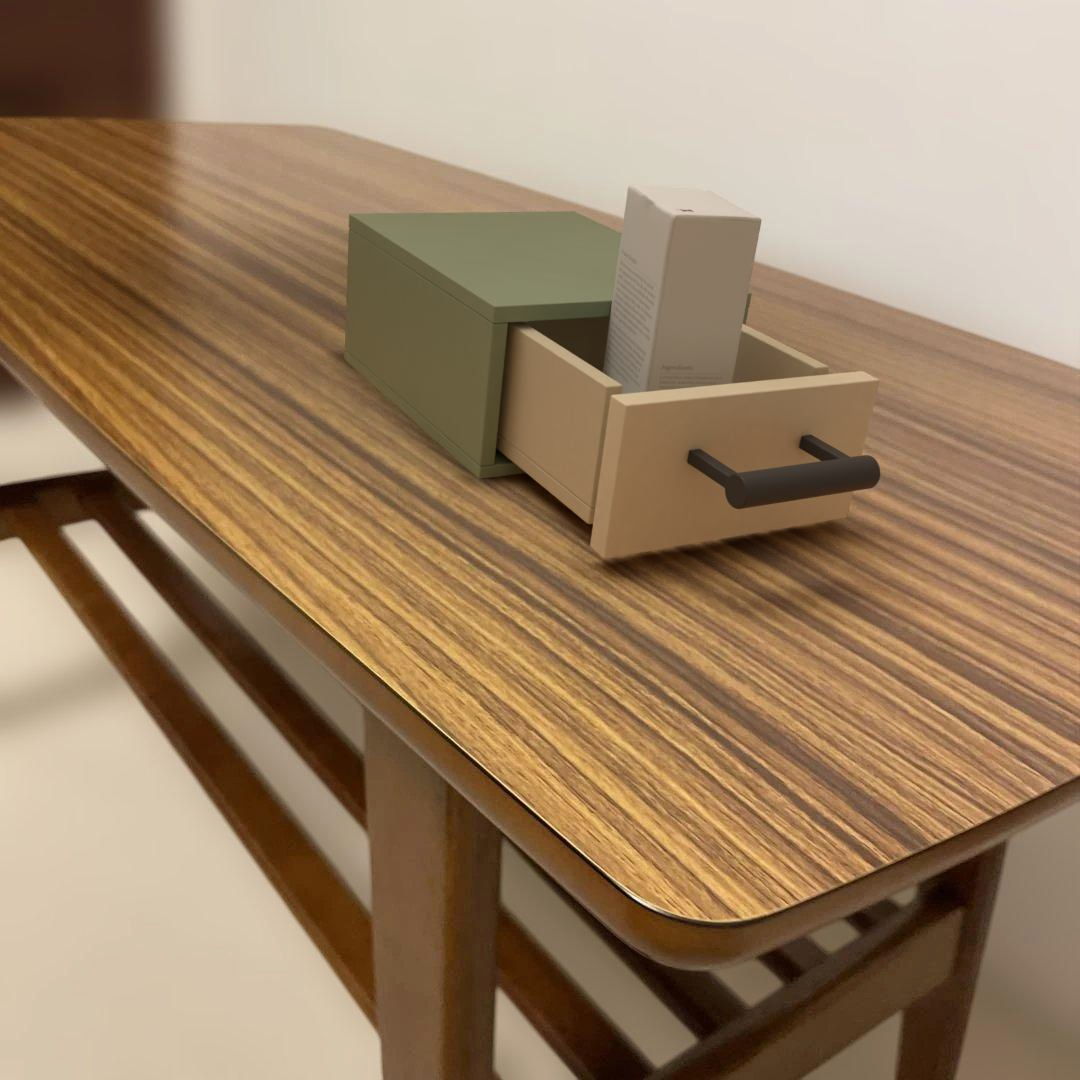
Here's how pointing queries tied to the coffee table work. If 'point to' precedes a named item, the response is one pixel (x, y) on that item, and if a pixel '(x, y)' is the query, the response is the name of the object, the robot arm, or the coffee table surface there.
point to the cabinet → (465, 309)
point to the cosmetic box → (679, 289)
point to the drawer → (683, 439)
